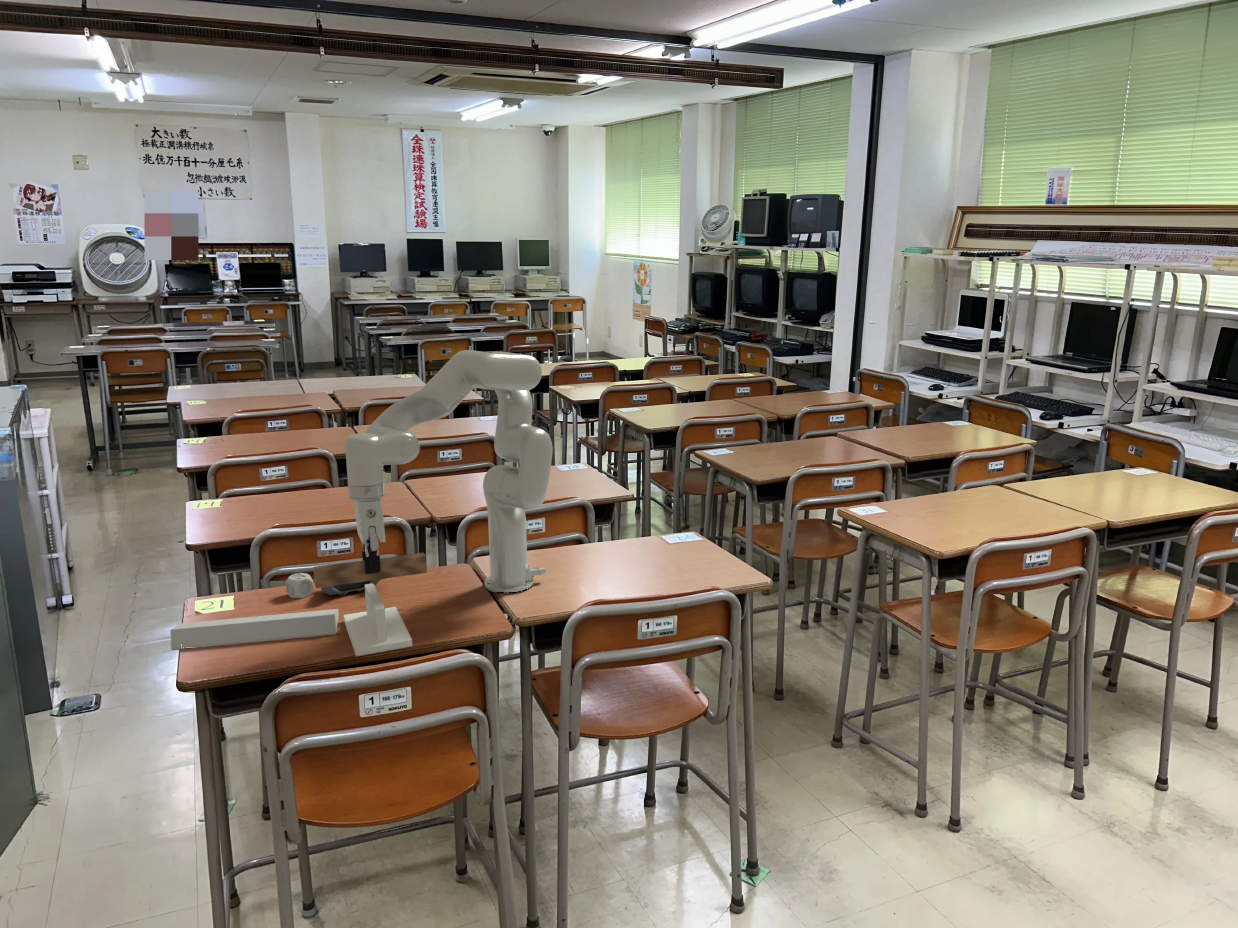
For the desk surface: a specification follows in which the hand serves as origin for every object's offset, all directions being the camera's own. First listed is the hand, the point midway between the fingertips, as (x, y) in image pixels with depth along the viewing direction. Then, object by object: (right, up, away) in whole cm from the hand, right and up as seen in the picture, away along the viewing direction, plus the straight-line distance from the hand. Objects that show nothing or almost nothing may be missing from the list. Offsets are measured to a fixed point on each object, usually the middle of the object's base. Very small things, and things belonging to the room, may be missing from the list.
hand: (371, 569), depth 196 cm
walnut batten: (0, -2, 0) cm, 2 cm away
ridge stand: (0, -15, +4) cm, 15 cm away
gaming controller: (-13, -9, +28) cm, 33 cm away
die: (-25, -10, +26) cm, 37 cm away
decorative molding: (-27, -15, +5) cm, 31 cm away
